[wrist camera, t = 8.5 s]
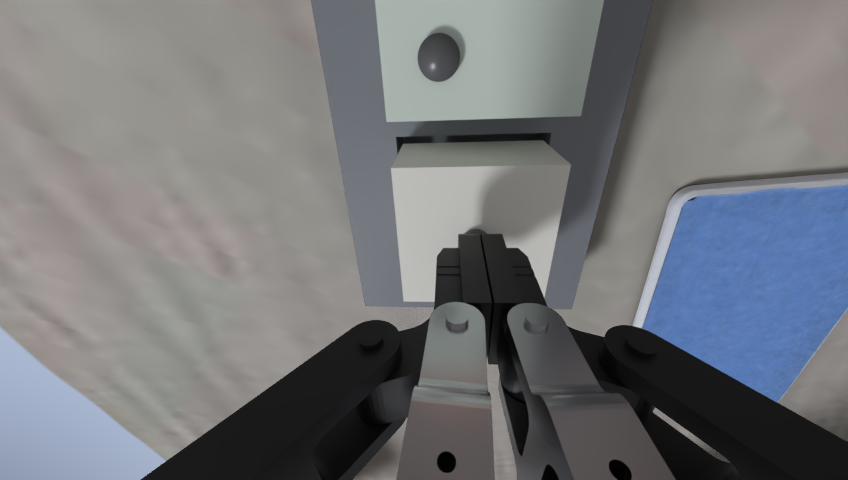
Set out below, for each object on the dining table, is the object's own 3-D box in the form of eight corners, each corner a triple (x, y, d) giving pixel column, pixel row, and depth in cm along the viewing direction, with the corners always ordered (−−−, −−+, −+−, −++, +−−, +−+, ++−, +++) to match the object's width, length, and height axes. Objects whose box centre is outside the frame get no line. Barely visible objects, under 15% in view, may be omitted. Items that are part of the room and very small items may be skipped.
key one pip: (543, 140, 13) (573, 166, 10) (525, 257, 16) (544, 306, 13) (403, 143, 14) (389, 169, 11) (411, 257, 17) (402, 304, 14)
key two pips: (580, -112, 10) (647, -197, 6) (548, 102, 13) (583, 117, 9) (386, -96, 10) (357, -168, 7) (400, 106, 13) (385, 123, 10)
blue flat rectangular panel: (767, 393, 26) (781, 408, 25) (604, 395, 27) (611, 410, 26) (927, 160, 16) (963, 168, 15) (663, 182, 18) (678, 191, 16)
